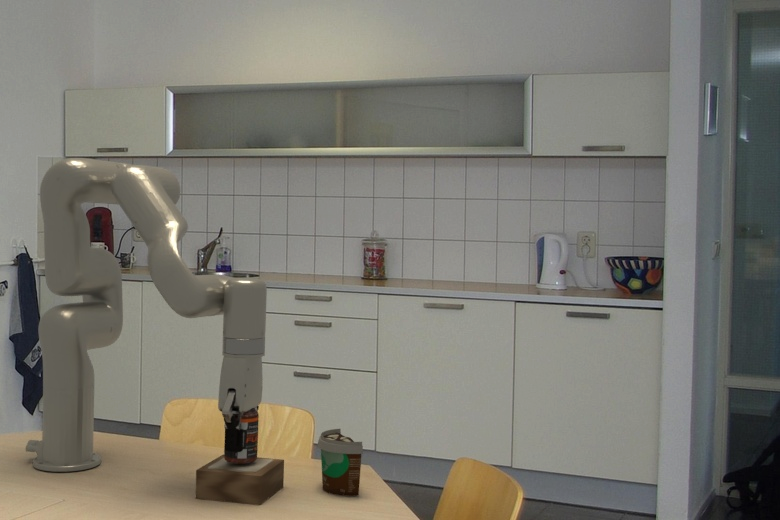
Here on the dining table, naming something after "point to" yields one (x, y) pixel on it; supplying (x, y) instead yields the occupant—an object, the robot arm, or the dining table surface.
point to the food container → (340, 463)
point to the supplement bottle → (246, 439)
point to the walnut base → (240, 480)
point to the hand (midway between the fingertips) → (240, 445)
